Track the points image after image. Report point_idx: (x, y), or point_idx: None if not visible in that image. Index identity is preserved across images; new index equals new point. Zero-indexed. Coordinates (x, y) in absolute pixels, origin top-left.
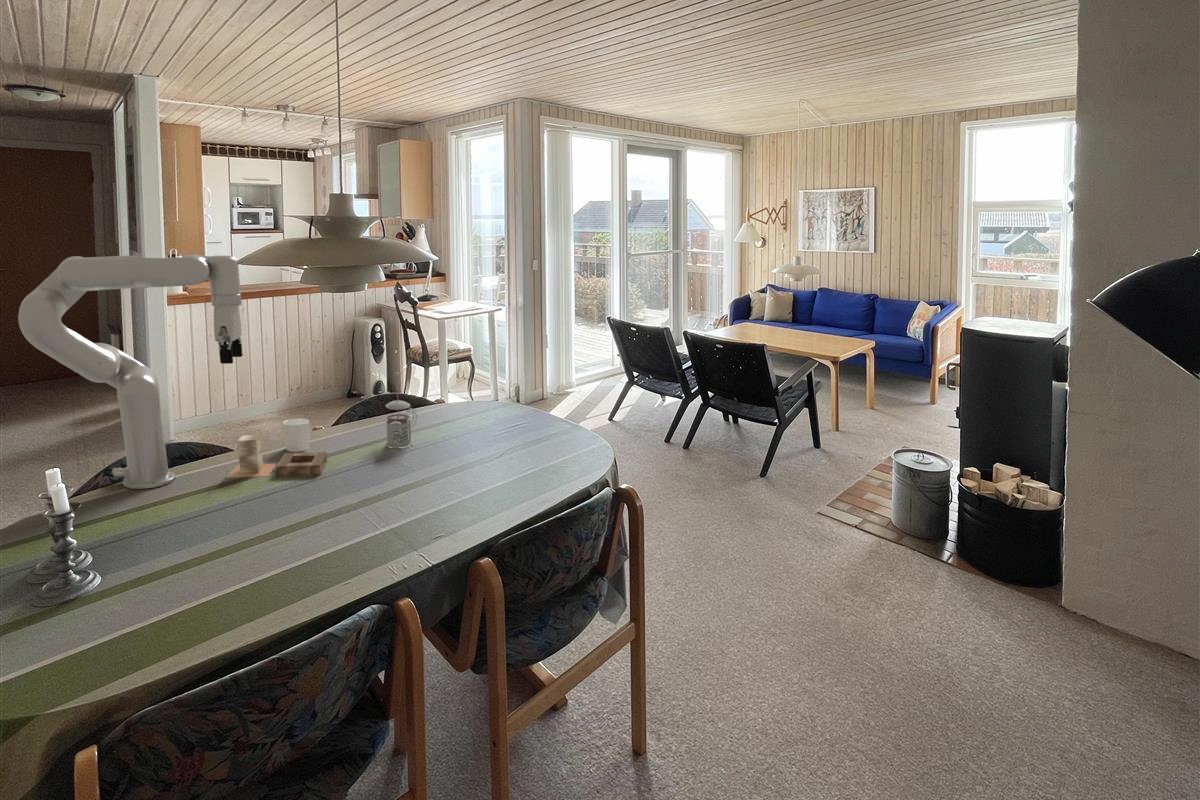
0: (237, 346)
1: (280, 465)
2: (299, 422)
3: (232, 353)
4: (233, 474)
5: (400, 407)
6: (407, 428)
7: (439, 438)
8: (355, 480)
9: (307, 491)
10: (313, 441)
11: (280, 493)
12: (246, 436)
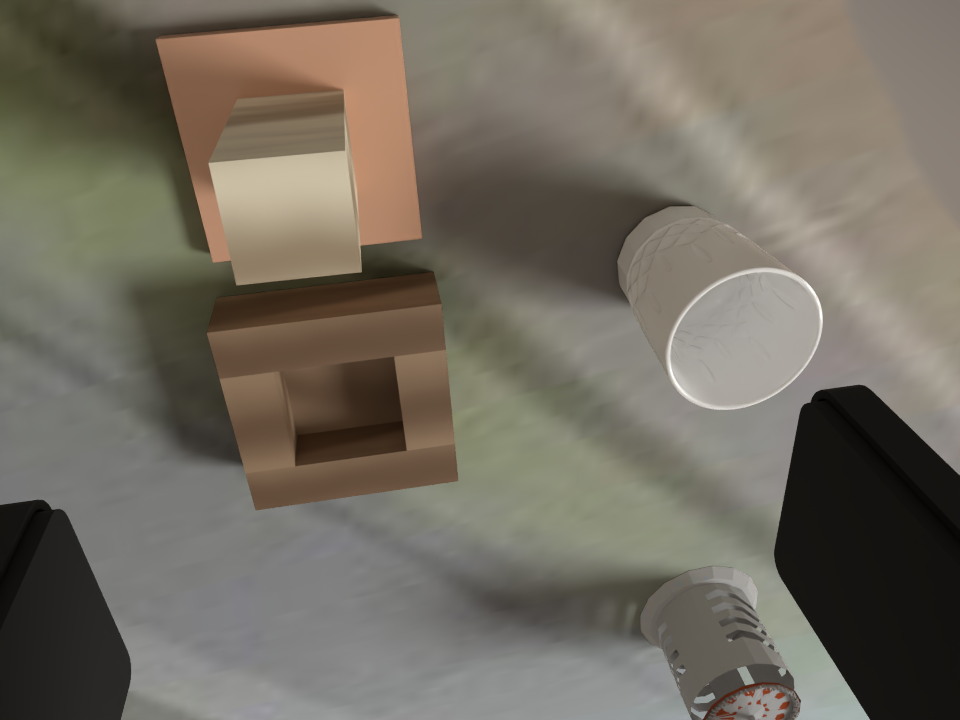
0: (915, 713)
1: (226, 348)
2: (800, 325)
3: (836, 477)
4: (213, 63)
5: None
6: (696, 709)
7: None
8: (247, 585)
9: (81, 466)
10: (828, 283)
11: (27, 371)
12: (322, 189)
